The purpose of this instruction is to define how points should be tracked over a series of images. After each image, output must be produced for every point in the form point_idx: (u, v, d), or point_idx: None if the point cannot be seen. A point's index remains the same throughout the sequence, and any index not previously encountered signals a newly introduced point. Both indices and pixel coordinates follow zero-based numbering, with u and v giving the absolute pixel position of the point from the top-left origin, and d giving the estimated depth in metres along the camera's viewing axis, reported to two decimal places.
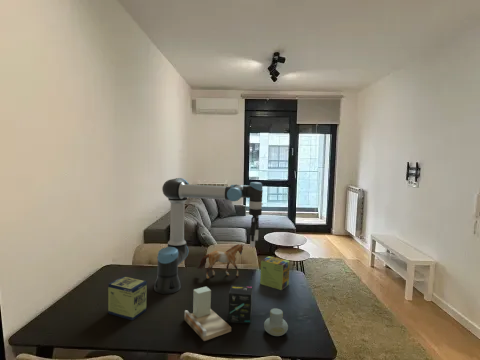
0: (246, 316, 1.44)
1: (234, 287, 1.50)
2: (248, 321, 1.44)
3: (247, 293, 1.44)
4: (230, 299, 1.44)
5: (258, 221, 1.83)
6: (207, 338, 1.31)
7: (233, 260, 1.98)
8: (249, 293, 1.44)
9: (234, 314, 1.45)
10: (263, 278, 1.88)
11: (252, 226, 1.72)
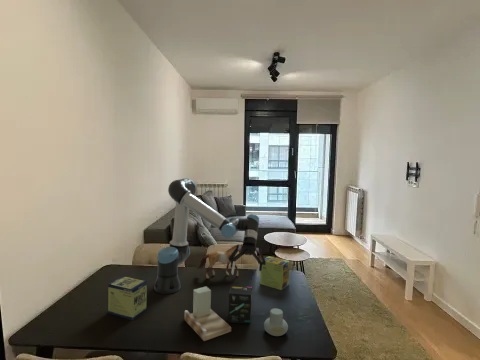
0: (246, 316, 1.44)
1: (234, 287, 1.50)
2: (248, 321, 1.44)
3: (247, 293, 1.44)
4: (230, 299, 1.44)
5: (253, 252, 1.64)
6: (207, 338, 1.31)
7: None
8: (249, 293, 1.44)
9: (234, 314, 1.45)
10: (263, 278, 1.88)
11: None
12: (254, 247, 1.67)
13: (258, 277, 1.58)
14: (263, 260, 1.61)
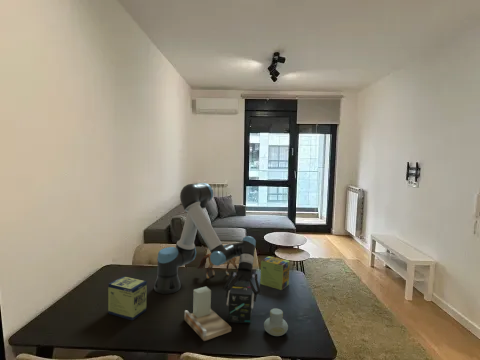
0: (246, 316, 1.44)
1: (234, 287, 1.50)
2: (248, 321, 1.44)
3: (247, 293, 1.44)
4: (230, 299, 1.44)
5: (249, 279, 1.52)
6: (207, 338, 1.31)
7: (233, 260, 1.98)
8: (249, 293, 1.44)
9: (234, 314, 1.44)
10: (263, 278, 1.88)
11: None
12: (250, 273, 1.55)
13: (252, 308, 1.46)
14: (258, 289, 1.49)
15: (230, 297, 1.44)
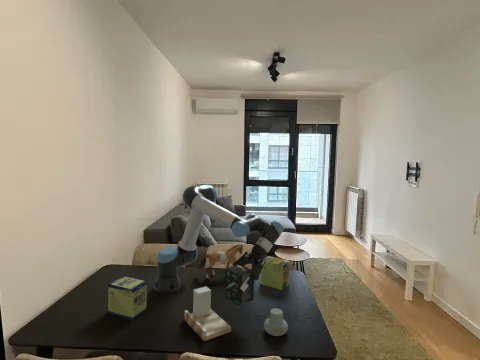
0: (236, 296, 1.39)
1: (238, 266, 1.47)
2: (237, 302, 1.38)
3: (239, 273, 1.38)
4: (226, 274, 1.44)
5: (253, 262, 1.43)
6: (207, 338, 1.31)
7: (233, 260, 1.98)
8: (240, 273, 1.38)
9: (228, 290, 1.43)
10: (263, 278, 1.88)
11: None
12: (258, 257, 1.45)
13: None
14: (254, 274, 1.38)
15: (226, 272, 1.44)
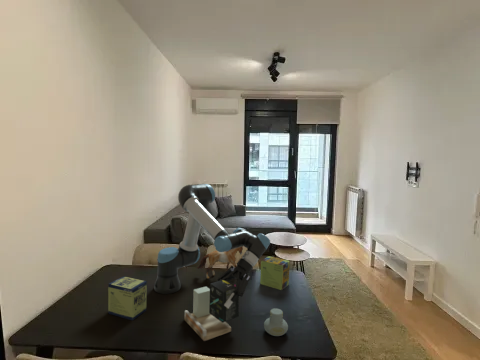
0: (220, 313, 1.34)
1: (223, 281, 1.43)
2: (221, 319, 1.34)
3: (223, 289, 1.34)
4: (210, 290, 1.40)
5: (237, 277, 1.39)
6: (207, 338, 1.31)
7: (233, 260, 1.98)
8: (224, 290, 1.33)
9: (212, 306, 1.38)
10: (263, 278, 1.88)
11: None
12: (243, 272, 1.40)
13: None
14: (239, 290, 1.33)
15: (210, 288, 1.40)
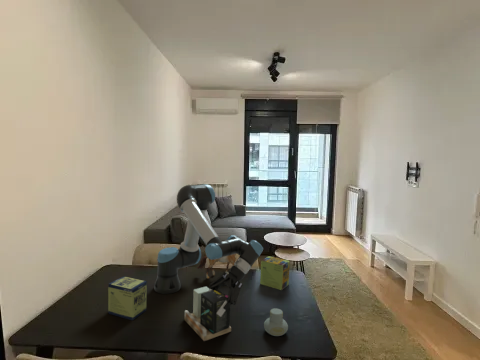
0: (210, 324, 1.32)
1: (215, 291, 1.41)
2: (211, 331, 1.32)
3: (213, 300, 1.32)
4: (201, 300, 1.38)
5: (230, 285, 1.37)
6: (207, 338, 1.31)
7: (233, 260, 1.98)
8: (214, 301, 1.31)
9: (203, 317, 1.37)
10: (263, 278, 1.88)
11: None
12: (235, 280, 1.38)
13: (220, 316, 1.30)
14: (232, 298, 1.31)
15: (201, 298, 1.38)
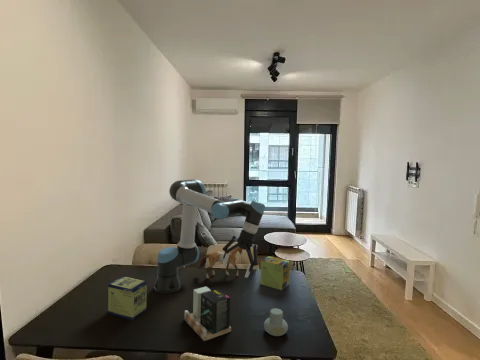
0: (210, 324, 1.32)
1: (214, 291, 1.41)
2: (211, 331, 1.32)
3: (213, 300, 1.32)
4: (201, 300, 1.38)
5: (247, 250, 1.49)
6: (207, 338, 1.31)
7: (233, 260, 1.98)
8: (214, 301, 1.31)
9: (203, 317, 1.37)
10: (263, 278, 1.88)
11: None
12: (249, 243, 1.49)
13: None
14: (254, 262, 1.46)
15: (201, 298, 1.38)
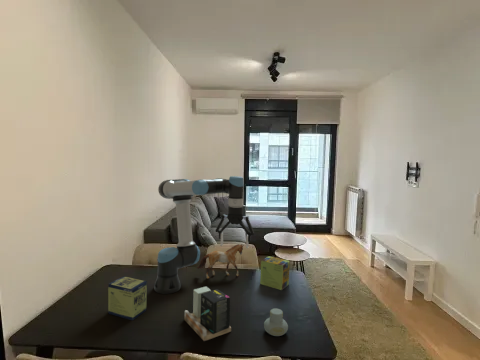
0: (210, 324, 1.32)
1: (214, 291, 1.41)
2: (211, 331, 1.32)
3: (213, 300, 1.32)
4: (201, 300, 1.38)
5: (240, 223, 1.54)
6: (207, 338, 1.31)
7: (233, 260, 1.98)
8: (214, 301, 1.31)
9: (203, 317, 1.37)
10: (263, 278, 1.88)
11: (220, 222, 1.58)
12: (241, 217, 1.54)
13: None
14: (251, 232, 1.54)
15: (201, 298, 1.38)
